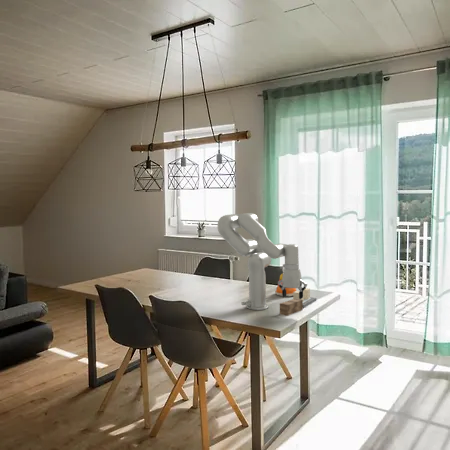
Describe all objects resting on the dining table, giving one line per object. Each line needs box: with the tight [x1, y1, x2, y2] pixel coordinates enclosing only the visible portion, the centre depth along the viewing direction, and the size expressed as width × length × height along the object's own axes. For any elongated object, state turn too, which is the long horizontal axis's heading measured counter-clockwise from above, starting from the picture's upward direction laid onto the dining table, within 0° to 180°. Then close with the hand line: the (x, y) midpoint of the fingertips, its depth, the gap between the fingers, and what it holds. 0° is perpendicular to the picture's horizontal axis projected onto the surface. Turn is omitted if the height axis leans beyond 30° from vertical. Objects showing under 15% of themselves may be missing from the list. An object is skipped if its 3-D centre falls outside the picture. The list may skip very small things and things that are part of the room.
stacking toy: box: [274, 266, 297, 297], centre depth 279 cm, size 14×14×20 cm
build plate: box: [292, 287, 317, 308], centre depth 259 cm, size 20×11×8 cm, turn 148°
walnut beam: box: [279, 298, 303, 316], centre depth 239 cm, size 15×5×6 cm, turn 137°
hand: (292, 297), depth 238 cm, fingers open, 9 cm apart
